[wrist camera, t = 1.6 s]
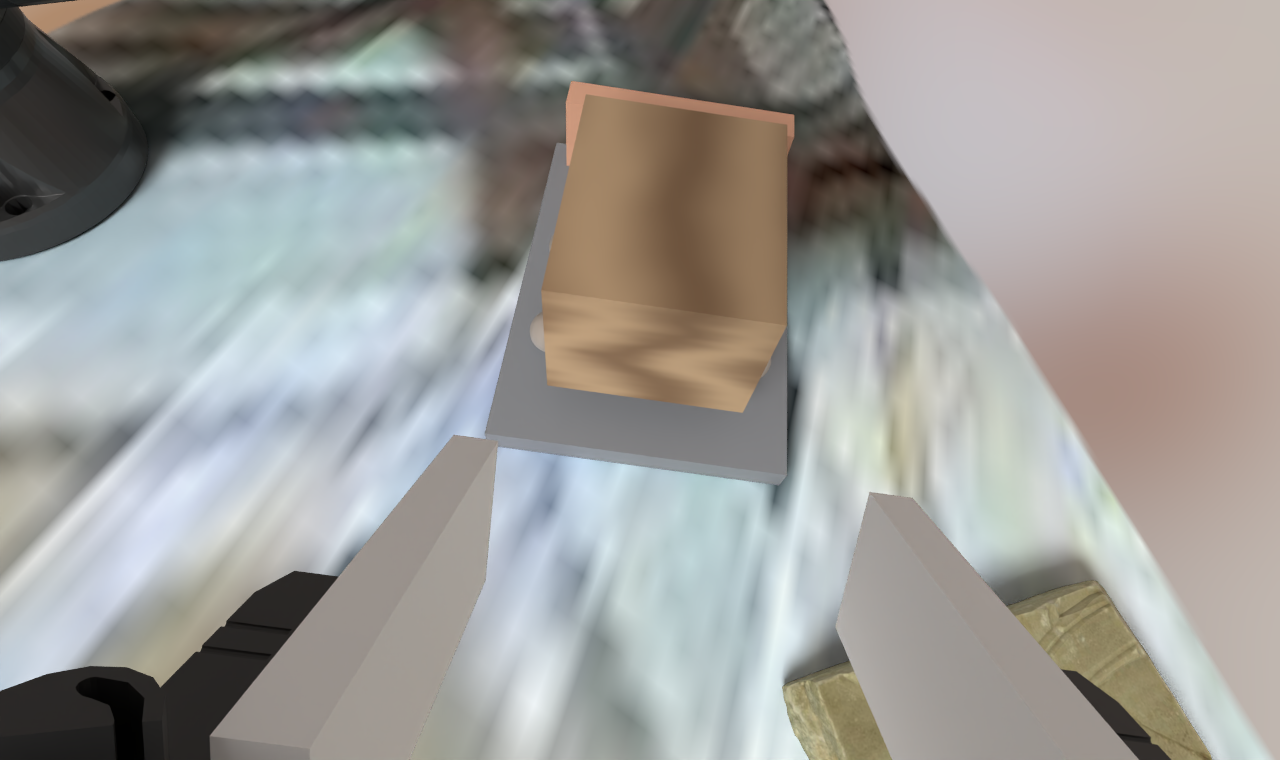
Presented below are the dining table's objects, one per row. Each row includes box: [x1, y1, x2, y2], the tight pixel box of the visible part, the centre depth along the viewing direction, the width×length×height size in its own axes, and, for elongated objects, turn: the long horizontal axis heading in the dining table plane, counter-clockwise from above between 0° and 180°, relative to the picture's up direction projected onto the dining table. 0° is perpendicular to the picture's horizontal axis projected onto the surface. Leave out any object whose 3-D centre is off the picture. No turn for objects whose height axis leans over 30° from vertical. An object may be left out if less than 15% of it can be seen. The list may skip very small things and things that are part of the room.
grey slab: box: [485, 81, 794, 485], centre depth 39 cm, size 16×22×6 cm
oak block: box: [530, 94, 787, 413], centre depth 34 cm, size 13×12×10 cm
